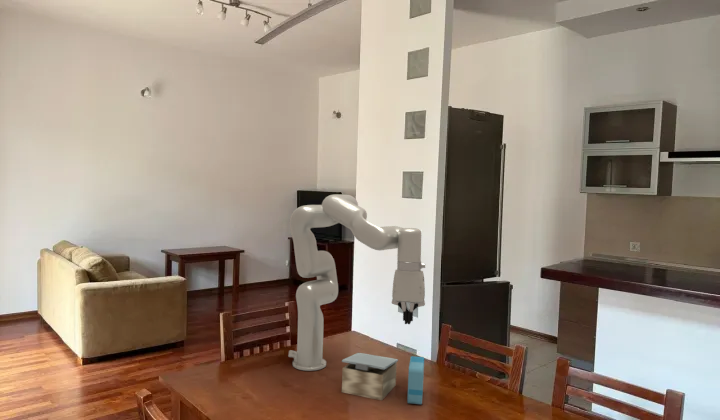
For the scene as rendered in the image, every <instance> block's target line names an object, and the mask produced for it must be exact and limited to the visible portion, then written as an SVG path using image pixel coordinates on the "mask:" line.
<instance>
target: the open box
mask: <svg viewBox="0 0 720 420" xmlns="http://www.w3.org/2000/svg"><path fill="white" fill-rule="evenodd" d="M397 362H398V361H397ZM397 362H396V363H394V364H393V365H391V366H389V367H388V368H386V369H378V368H373V367H368V370H361V369H356V364H351V363H346V365H345V366H344V367H342V372H341V374H342V376H341V382H342V383H341V393H345V394H350V395H353V396H358V397H363V398H368V399H373V400H377V401H378V400H379V401H383V399H385V397H387V396H388V394H389V393H390V392H391V391H392V390H393V389H394V388H395V386H396V384H397Z"/></svg>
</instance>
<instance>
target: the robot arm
mask: <svg viewBox="0 0 720 420" xmlns="http://www.w3.org/2000/svg"><path fill="white" fill-rule="evenodd" d="M367 217H368V213H367V211H366V209H365V208H363V207H361V206H359V202H358V200H357V199H356V197H354V196H352V195H350V194H337V193H336V194H330V195H328V196H325V198H324V199H323V200H322V202H321V204H307V205H301V206H299V207H297V208H296V209H294V210H293V212H292V213H291V215H290V219H289V230H290V234H291V237H292V242H293V249H294V256H295V257H294V258H295V265H296V270H297V274H298V275H299V277H302V278H305V279H306V278H307V279H309V278H310V279H311V278H315V277H316V279H315V280H309V281H306V282H303V283H302V284H299V286H298V287H297V289H296V293H295V300H296V305H297V341H296V342H297V344H296V345H297V347H296V349H297V350H291V349H290V350H288V355H287V356H288V358H293V360H292V367H293V368H295V369H297V370H299V371H304V372H305V371H306V372H310V371H319V370H322V369H324V368H325V367H326V366H327V360H326V359H324V358H323V354H324V353H323V349H324V348H323V347H324V322H325V321H324V314H323V312H322V309H321V306H322V305H326V304H330V303H333V302H335V300H337V298H338V296H339V283H338V282H339V281H338V275H337V269H336V268H337V267H336V262H335V258H333V256H332V254H331V253H330V252H329V251H326V250H318V246H317V240H316V237H315V234H314V232H312V230H311V229H314V228H316V229H317V228H326V227H331V226H334V225H337V224H341V225H343V226H344V227H345V228H347V229H349V230H350V231H351V233H352V235H353V237H355V239H356V240H357V241H358V242H360V243H361V244H364V245H365V246H366V247H368V248H370V249H372V250H375V251H386V250H387V251H388V250H394V249H396V250H397V253H396V254H397V257H396V258H397V259H396V260H397V263H396V264H397V266H396V267H397V269H395V270H394V274H393V282H392V293H391V294H392V295H391V297H392V299H391V304H393V305H395V306H398V308H400V309H401V311H402V321H404V325H407V324H408V325H411V322H413V321H414V311H415V310H416V309H417V308H418V307H419V308H420V307H424V306H426V302H425V297H426V295H425V293H426V289H425V288H426V287H425V275H424V270H422V269H425V268H426V263H423V262H422V232H421V230H420V229H418V228H413V227H400V226H396V225H391V226H378V225H375V224H373V223H372V222H370V221H368V220H367ZM407 303H410V304H409V309H408V306H407V305H408V304H407Z"/></svg>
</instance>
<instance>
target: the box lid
mask: <svg viewBox="0 0 720 420" xmlns="http://www.w3.org/2000/svg"><path fill="white" fill-rule="evenodd" d="M396 362H399V359H397V358H393V357H386V356H380V355H375V354H371V353H370V354H368V353H363V352H362V353H361V352H356V353H355V354H352V355H350V356H348V357H346V358H343V359H342V360H341V363H346V364H349V363H351V364H356V369H361V370H368V367H373V368H378V369H386V368H388V367H389V366H391V365H393V364H394V363H396Z"/></svg>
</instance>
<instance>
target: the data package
mask: <svg viewBox="0 0 720 420" xmlns="http://www.w3.org/2000/svg"><path fill="white" fill-rule="evenodd" d="M424 373H425V357H424V356H413V355H412V356H410V360H409V364H408V377H407V404H414V405H422V404H423V392H424V377H425V376H424Z"/></svg>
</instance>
